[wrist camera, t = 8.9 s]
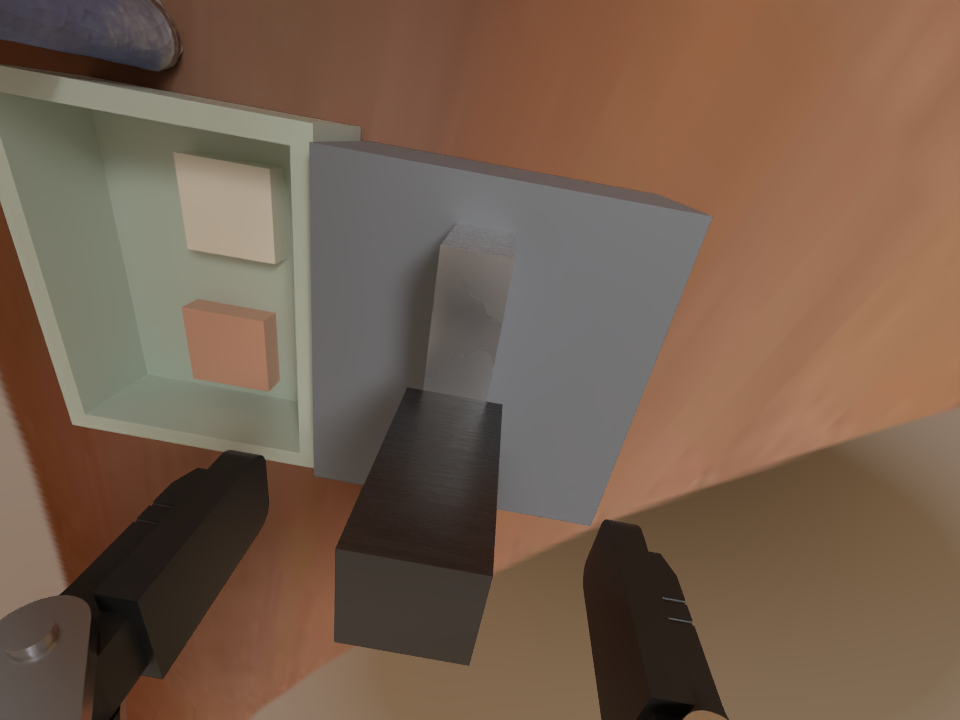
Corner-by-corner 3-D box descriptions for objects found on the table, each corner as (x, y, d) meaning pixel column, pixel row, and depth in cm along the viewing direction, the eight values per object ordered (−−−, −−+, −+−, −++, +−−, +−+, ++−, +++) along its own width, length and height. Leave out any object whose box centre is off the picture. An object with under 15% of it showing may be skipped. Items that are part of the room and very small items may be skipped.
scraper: (441, 219, 15) (338, 331, 6) (530, 235, 15) (547, 369, 6) (410, 487, 20) (332, 740, 12) (474, 498, 20) (444, 759, 12)
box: (86, 75, 19) (-47, 57, 14) (360, 126, 19) (312, 123, 15) (149, 375, 26) (72, 424, 21) (351, 411, 26) (316, 468, 21)
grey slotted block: (367, 140, 19) (309, 141, 14) (658, 194, 19) (712, 216, 14) (356, 405, 26) (313, 476, 20) (575, 445, 26) (590, 526, 20)
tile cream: (269, 168, 18) (283, 167, 19) (173, 151, 18) (192, 151, 19) (275, 264, 20) (287, 257, 21) (187, 248, 20) (204, 243, 21)
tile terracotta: (263, 321, 21) (275, 312, 22) (181, 307, 21) (197, 299, 22) (269, 391, 23) (279, 380, 24) (193, 378, 23) (207, 367, 24)
